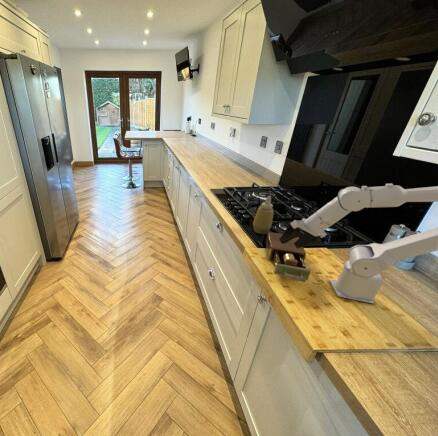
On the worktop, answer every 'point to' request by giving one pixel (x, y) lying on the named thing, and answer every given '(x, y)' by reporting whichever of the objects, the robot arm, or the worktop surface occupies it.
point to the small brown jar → (290, 260)
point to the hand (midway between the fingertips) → (288, 243)
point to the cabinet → (282, 246)
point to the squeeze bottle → (264, 217)
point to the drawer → (290, 267)
